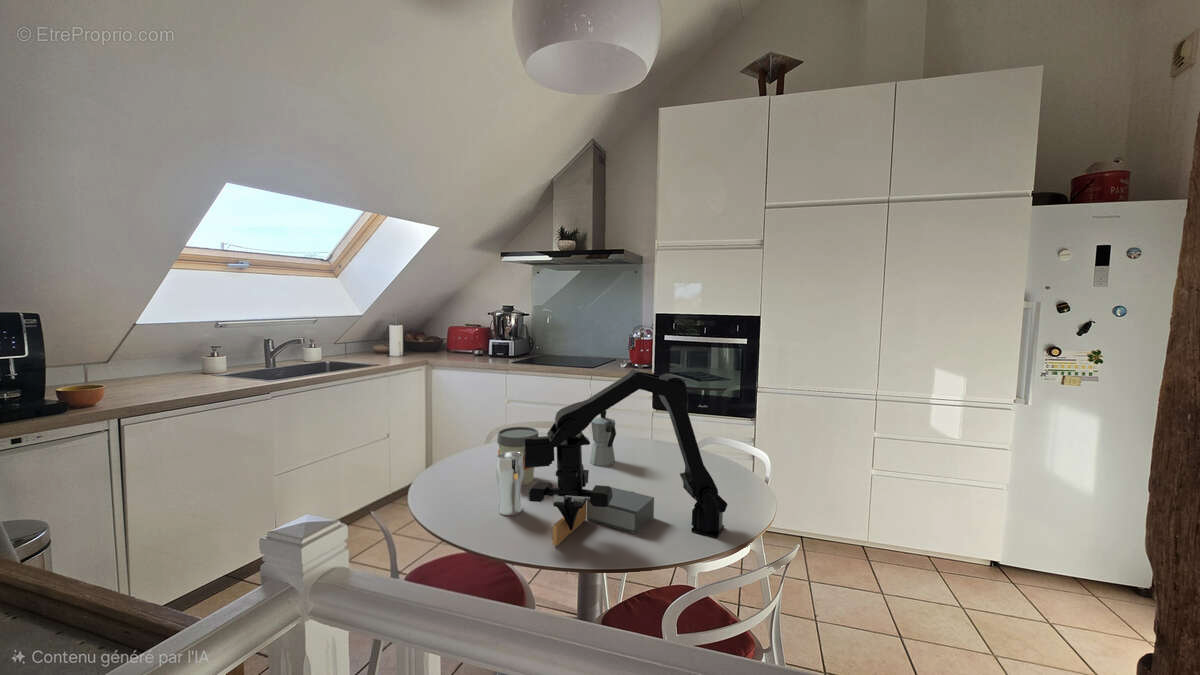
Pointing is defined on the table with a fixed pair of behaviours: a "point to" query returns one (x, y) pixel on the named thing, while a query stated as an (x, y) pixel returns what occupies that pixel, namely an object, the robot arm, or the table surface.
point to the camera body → (623, 511)
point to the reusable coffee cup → (517, 445)
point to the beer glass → (510, 481)
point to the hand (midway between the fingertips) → (571, 529)
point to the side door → (566, 526)
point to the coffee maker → (603, 441)
